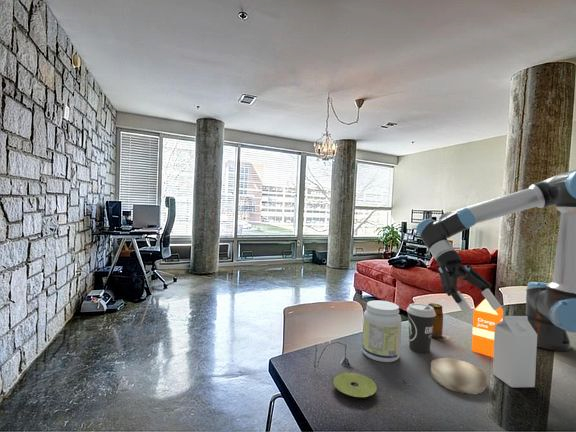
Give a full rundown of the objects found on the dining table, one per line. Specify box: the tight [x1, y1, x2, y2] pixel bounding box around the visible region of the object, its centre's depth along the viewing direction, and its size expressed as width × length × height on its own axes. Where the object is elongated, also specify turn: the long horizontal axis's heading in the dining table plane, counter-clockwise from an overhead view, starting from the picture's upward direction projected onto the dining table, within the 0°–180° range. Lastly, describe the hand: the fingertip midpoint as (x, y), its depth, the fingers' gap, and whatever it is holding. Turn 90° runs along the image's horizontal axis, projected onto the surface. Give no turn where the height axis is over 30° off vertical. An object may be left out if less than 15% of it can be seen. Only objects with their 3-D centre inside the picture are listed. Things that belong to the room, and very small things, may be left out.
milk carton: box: [492, 315, 538, 388], centre depth 89 cm, size 7×7×19 cm
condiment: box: [427, 303, 451, 342], centre depth 120 cm, size 7×8×12 cm
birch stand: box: [430, 357, 487, 395], centre depth 88 cm, size 14×14×3 cm
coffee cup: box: [406, 302, 436, 354], centre depth 108 cm, size 10×10×15 cm
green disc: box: [332, 372, 378, 398], centre depth 81 cm, size 11×11×2 cm
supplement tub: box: [362, 299, 402, 363], centre depth 102 cm, size 12×12×17 cm
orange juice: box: [471, 298, 504, 358], centre depth 108 cm, size 8×9×20 cm
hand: (483, 310), depth 97 cm, fingers open, 13 cm apart
